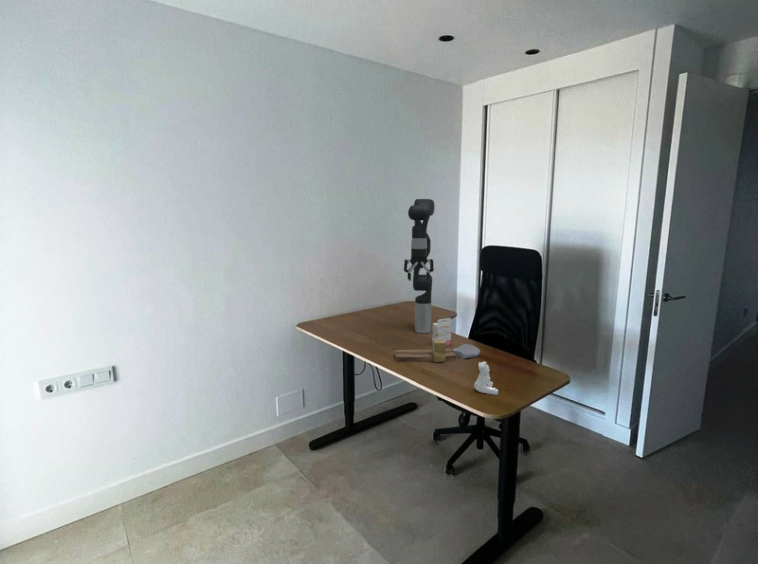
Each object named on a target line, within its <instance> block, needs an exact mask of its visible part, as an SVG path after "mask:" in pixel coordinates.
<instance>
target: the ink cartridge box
mask: <svg viewBox="0 0 758 564" xmlns="http://www.w3.org/2000/svg"><path fill="white" fill-rule="evenodd" d="M432 339H443V340H444V342H445V343H446V346H450V345H452V344H451V343H452V318H451V317H448V318H441V319H437V322H433V323H432Z"/></svg>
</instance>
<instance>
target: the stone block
mask: <svg viewBox="0 0 758 564" xmlns="http://www.w3.org/2000/svg"><path fill="white" fill-rule="evenodd" d="M452 351H453V352H454V354H455V355H456V358H459V357H460V359H461V360H466V359H467V358H468V359H472V358H478V357H479V356H480V354H481V350H480V348H478V347H477V346H476V345H472V344H470V343H469V344H468V343H464V344H462V345H460V346H459V347H454V348H453V349H452ZM477 356H478V357H477Z"/></svg>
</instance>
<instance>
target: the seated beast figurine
mask: <svg viewBox="0 0 758 564" xmlns="http://www.w3.org/2000/svg"><path fill="white" fill-rule="evenodd" d="M478 371H479V373H478V376H477V379H476V380H475V382H474V383H473V385H474V386H473V387H474V389H475V390H476V391H477V392H479V393H482V394H488V395H493V396H498V395H499V389H497V388H496V387H493V386H494V383H493V381H491V376H490V371H491V370H490V366H489V365H488V363H487V362H486V361H485V360H484V361H482V362H480V361H479V362H478Z"/></svg>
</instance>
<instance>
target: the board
mask: <svg viewBox="0 0 758 564" xmlns="http://www.w3.org/2000/svg"><path fill="white" fill-rule="evenodd" d="M394 357H395V361H396V363H419V362H420V363H423V362H424V363H425V362H427V363H428V362H430V363H431V362H434V356H433V354H432V348H430V349H429V348H427V349H395V350H394ZM456 361H457V357H456V355H455V354H454V352H453V349H452V348H445V362H456Z"/></svg>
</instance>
